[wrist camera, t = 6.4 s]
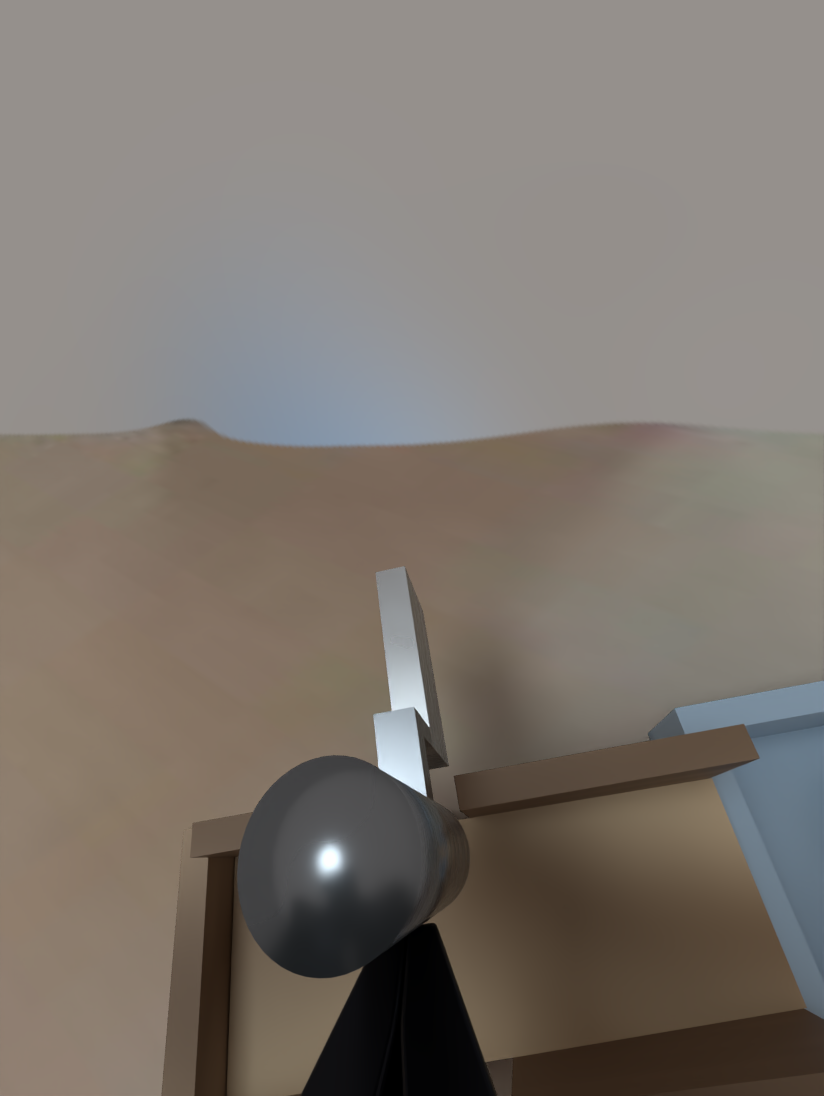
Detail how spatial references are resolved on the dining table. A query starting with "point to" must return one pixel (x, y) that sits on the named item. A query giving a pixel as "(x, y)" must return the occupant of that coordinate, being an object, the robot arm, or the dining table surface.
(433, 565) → the dining table surface
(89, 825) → the dining table surface
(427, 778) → the gate
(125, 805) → the dining table surface
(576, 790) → the ramp frame
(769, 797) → the blue square tray
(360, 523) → the dining table surface
